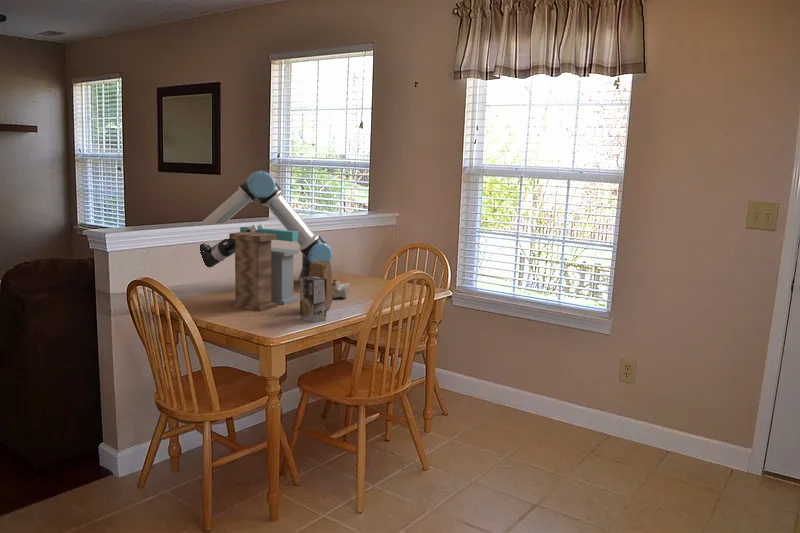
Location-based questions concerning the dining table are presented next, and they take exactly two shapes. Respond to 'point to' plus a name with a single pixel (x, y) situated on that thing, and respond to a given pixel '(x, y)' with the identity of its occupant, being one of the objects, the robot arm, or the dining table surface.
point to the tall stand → (253, 270)
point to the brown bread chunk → (323, 271)
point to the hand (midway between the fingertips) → (259, 226)
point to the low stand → (282, 276)
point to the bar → (281, 234)
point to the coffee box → (313, 298)
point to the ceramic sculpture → (340, 289)
